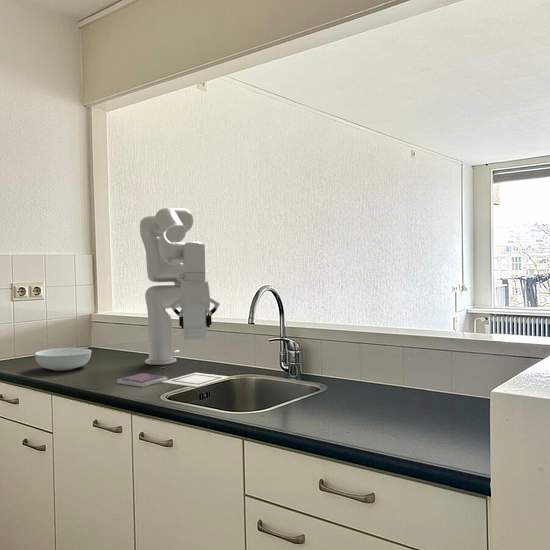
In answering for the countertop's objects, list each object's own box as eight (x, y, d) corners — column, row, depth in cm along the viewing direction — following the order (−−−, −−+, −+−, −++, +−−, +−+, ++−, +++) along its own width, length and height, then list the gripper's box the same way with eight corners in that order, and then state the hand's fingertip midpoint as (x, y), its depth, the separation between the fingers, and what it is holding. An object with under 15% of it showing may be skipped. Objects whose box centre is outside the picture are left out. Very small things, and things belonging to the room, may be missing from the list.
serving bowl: (73, 374, 212) (73, 356, 212) (23, 373, 217) (23, 355, 216) (101, 364, 233) (101, 347, 233) (55, 363, 237) (54, 346, 237)
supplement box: (208, 337, 202) (207, 301, 202) (204, 340, 195) (203, 303, 194) (187, 337, 202) (186, 302, 202) (183, 340, 195) (182, 303, 195)
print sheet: (195, 373, 211) (195, 372, 211) (230, 377, 202) (230, 376, 202) (161, 382, 195) (161, 381, 195) (197, 387, 187) (197, 386, 187)
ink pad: (142, 376, 206) (142, 372, 206) (167, 380, 199) (167, 375, 199) (117, 383, 196) (116, 378, 196) (142, 386, 189) (142, 382, 189)
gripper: (169, 278, 192) (170, 329, 193) (220, 277, 196) (221, 327, 196) (168, 277, 200) (169, 327, 200) (218, 276, 203) (219, 325, 204)
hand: (195, 327), depth 198 cm, fingers closed on supplement box, 8 cm apart
